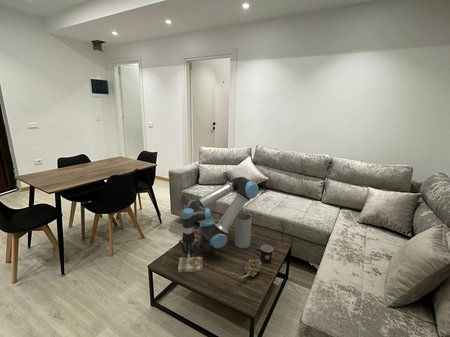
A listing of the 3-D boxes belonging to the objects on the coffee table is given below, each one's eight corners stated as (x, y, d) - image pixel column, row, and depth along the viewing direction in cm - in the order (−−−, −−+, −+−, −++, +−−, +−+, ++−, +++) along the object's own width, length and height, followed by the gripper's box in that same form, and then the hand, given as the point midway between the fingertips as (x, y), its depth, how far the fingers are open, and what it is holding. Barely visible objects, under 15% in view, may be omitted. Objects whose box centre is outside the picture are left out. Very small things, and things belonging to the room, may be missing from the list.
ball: (198, 259, 169) (193, 260, 169) (198, 263, 166) (193, 263, 166) (198, 264, 170) (193, 264, 170) (198, 267, 167) (193, 267, 166)
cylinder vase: (252, 243, 196) (254, 215, 189) (245, 250, 186) (247, 221, 179) (239, 238, 203) (240, 211, 196) (231, 245, 192) (232, 217, 185)
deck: (202, 259, 174) (202, 256, 174) (202, 271, 163) (202, 268, 162) (179, 260, 173) (179, 257, 172) (178, 272, 162) (178, 268, 161)
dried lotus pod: (251, 264, 171) (252, 252, 168) (263, 270, 165) (264, 258, 163) (234, 282, 154) (234, 269, 151) (247, 289, 148) (248, 276, 145)
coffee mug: (273, 258, 178) (274, 246, 175) (270, 265, 170) (271, 253, 167) (258, 254, 182) (258, 242, 180) (254, 260, 175) (255, 248, 172)
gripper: (198, 228, 164) (198, 257, 171) (179, 228, 163) (180, 258, 170) (197, 234, 157) (198, 264, 164) (177, 234, 156) (179, 265, 163)
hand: (189, 261), depth 167 cm, fingers closed
